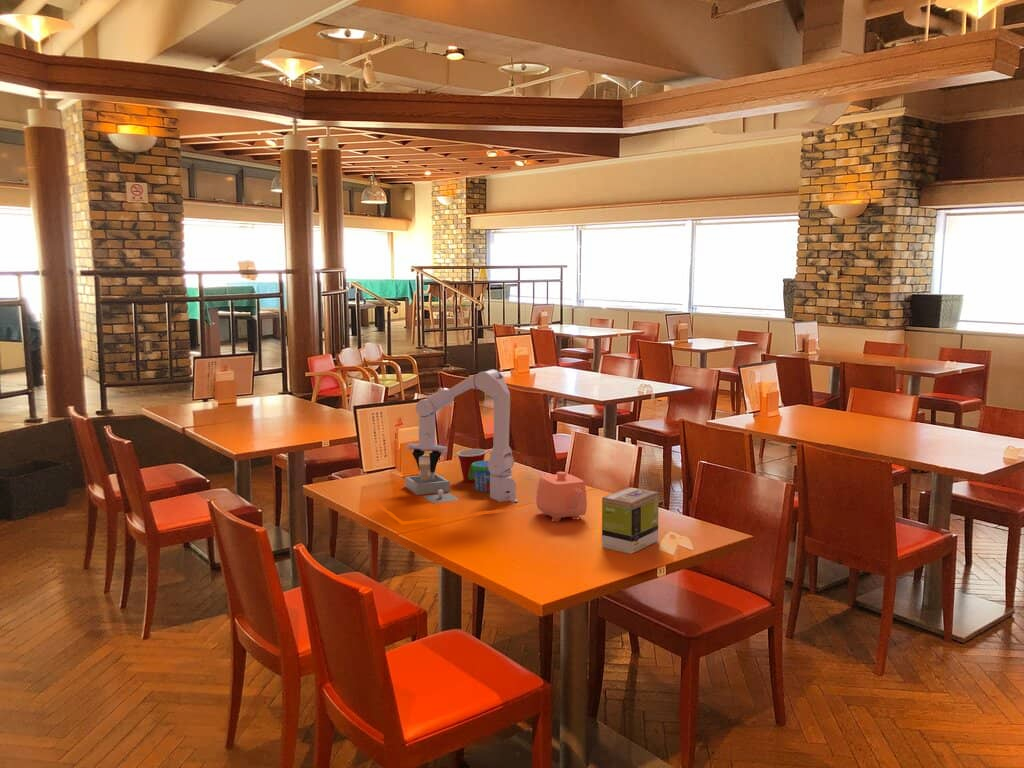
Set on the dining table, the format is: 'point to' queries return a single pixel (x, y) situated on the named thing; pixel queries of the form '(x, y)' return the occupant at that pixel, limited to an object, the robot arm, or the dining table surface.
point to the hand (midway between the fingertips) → (427, 471)
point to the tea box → (629, 520)
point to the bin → (426, 484)
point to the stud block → (440, 497)
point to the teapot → (561, 496)
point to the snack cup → (480, 475)
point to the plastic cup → (470, 461)
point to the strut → (425, 468)
